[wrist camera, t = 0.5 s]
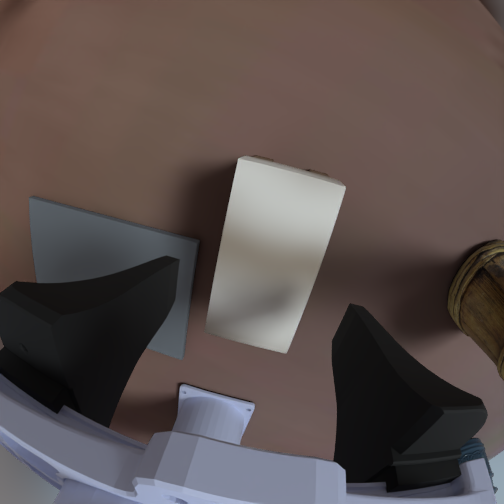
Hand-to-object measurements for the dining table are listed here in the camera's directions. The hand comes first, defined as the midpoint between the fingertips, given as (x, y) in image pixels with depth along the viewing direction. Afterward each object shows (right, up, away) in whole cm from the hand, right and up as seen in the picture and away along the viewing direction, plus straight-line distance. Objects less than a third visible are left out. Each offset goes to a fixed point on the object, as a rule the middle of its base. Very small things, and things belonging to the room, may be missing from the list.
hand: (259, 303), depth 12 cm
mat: (-14, 0, +12) cm, 19 cm away
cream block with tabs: (+1, +3, +8) cm, 9 cm away
